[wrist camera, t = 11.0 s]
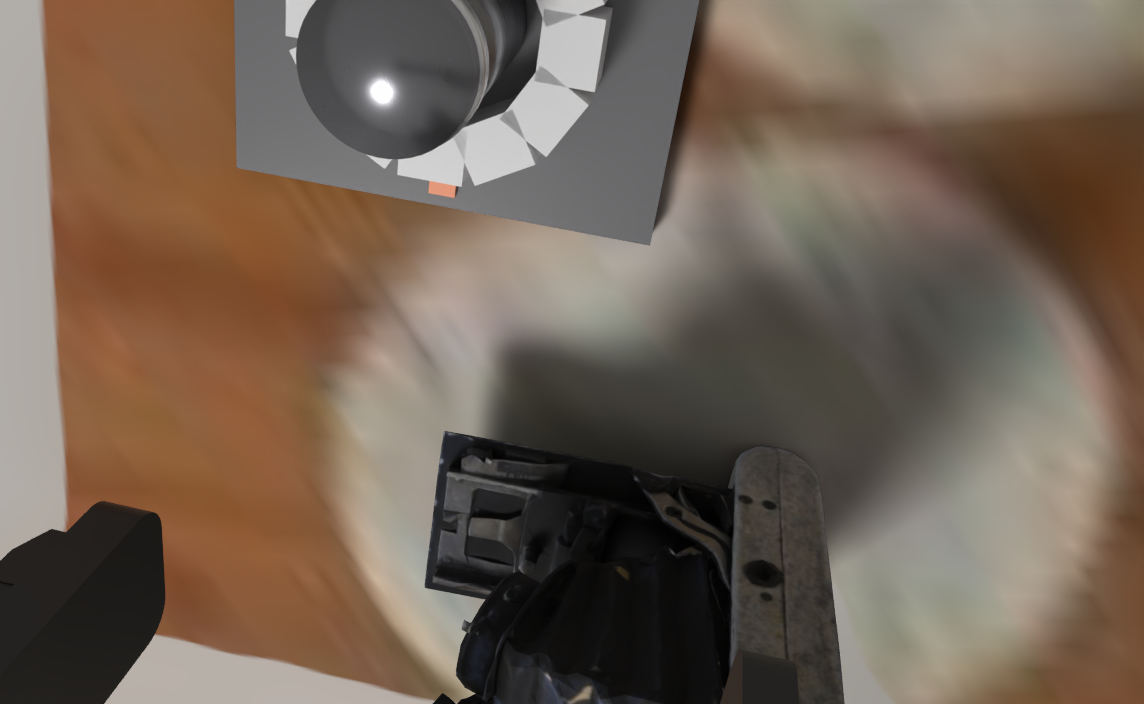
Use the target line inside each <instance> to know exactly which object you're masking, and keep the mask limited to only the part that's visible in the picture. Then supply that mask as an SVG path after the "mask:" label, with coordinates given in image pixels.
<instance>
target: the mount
mask: <svg viewBox="0 0 1144 704" xmlns="http://www.w3.org/2000/svg"><path fill="white" fill-rule="evenodd" d="M315 1H316V0H234V15H235V82H236V149H237V168H241V169H246V170H252V171H257V172H262V173H268V174H273V175H278V176H283V177H289V178H294V179H299V180H305V181H310V182H315V183H321V184H326V185H331V186H337V187H342V188H347V189H353V190H358V191H363V192H368V193H374V194H379V195H384V196H390V197H395V198H400V199H406V200H411V201H416V202H422V203H427V204H432V205H438V206H443V207H448V208H453V209H459V210H464V211H469V212H475V213H480V214H485V215H491V216H496V217H501V218H507V219H512V220H517V221H523V222H528V223H533V224H538V225H544V226H549V227H554V228H560V229H565V230H570V231H576V232H581V233H586V234H592V235H597V236H602V237H608V238H613V239H618V240H623V241H629V242H634V243H639V244H645V245H650V242H651V237H652V232H653V227H654V222H655V217H656V212H657V208H658V203H659V198H660V193H661V188H662V183H663V178H664V173H665V168H666V163H667V158H668V153H669V148H670V143H671V138H672V134H673V129H674V124H675V119H676V114H677V109H678V104H679V99H680V94H681V89H682V84H683V79H684V74H685V69H686V64H687V60H688V55H689V50H690V45H691V40H692V35H693V30H694V25H695V20H696V15H697V10H698V5H699V0H525V1H526V6H527V28H526V33H525V37H524V40H523V43H522V46H521V48H520V50H519V52H518V54H517V55H516V57H515V58H514V59H513V61H512V62H511V63H510V65H509V66H508V67H507V68H506V70H505V71H504V72H503V73H502V74H501V76H500V77H499V78H498V79H497V81H496V82H495V83H494V84H493V86H492V87H491V88H490V89H489V91H488V92H487V93H486V94H485V96H484V97H483V99H482V101H481V103H480V105H479V107H478V109H477V110H476V112H475V113H474V115H473V116H472V117H471V119H470V120H469V121H468V122H467V124H466V125H465V126H464V127H463V128H462V129H461V131H460V132H459V133H458V134H456V135H455V136H454V137H453V138H452V139H450V140H449V141H447V142H446V143H444V144H442V145H441V146H439V147H437V148H435V149H434V150H432V151H430V152H428V153H425V154H423V155H420V156H416V157H413V158H406V159H384V158H377V157H374V156H370V155H366V154H364V153H361V152H359V151H356V150H355V149H353V148H351V147H349V146H347V145H346V144H344V143H343V142H341V141H340V140H338V139H337V138H336V137H335V136H334V135H332V134H331V133H330V132H329V131H328V130H327V129H326V128H325V127H324V126H323V125H322V124H321V122H320V121H319V120H318V118H317V117H316V116H315V114H314V113H313V112H312V110H311V108H310V106H309V104H308V103H307V101H306V98H305V96H304V94H303V91H302V89H301V85H300V82H299V78H298V72H297V66H296V47H297V40H298V35H299V31H300V28H301V25H302V22H303V20H304V18H305V16H306V14H307V12H308V10H309V9H310V8H311V6H312V5H313V4H314V2H315Z"/></svg>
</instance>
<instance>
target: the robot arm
mask: <svg viewBox="0 0 1144 704" xmlns="http://www.w3.org/2000/svg"><path fill="white" fill-rule="evenodd" d="M164 605H165V580H164V561H163V543H162V526H161V520H160V518H159V516H158V515H157V514H156V513H154V512H150V511H145V510H141V509H136V508H132V507H128V506H123V505H119V504H115V503H110V502H106V501H101V502H98V503H96V504H95V505H93V506H92V507H91V508H90V509H89V510H88V511H87V512H86V513H85V514H84V515H83V516H82V517H81V518H80V519H79V520H78V521H77V522H76V523H75V524H74V525H73V526H72V527H71V528H70V529H69V530H68V531H67V532H62V531H58V530H53V529H51V530H49V531H47V532H45V533H43V534H41V535H39V536H37V537H35V538H33V539H31V540H30V541H28V542H26V543H24V544H22V545H20V546H18V547H16V548H14V549H12V550H11V551H10V552H9V553H8V554H7V555H6V556H5V557H4V558H3V559H2V560H1V561H0V704H104V703H105V702H106V700H107V699H108V698H109V696H110V695H111V694H112V692H113V691H114V690H115V688H116V687H117V686H118V684H119V683H120V682H121V680H122V679H123V678H124V676H125V675H126V674H127V672H128V671H129V670H130V668H131V667H132V666H133V664H134V663H135V662H136V660H137V659H138V658H139V656H140V655H141V653H142V652H143V651H144V650H145V648H146V647H147V646H148V644H149V643H150V641H151V640H152V638H153V636H154V635H155V633H156V630H157V628H158V626H159V623H160V621H161V618H162V614H163V610H164ZM720 704H799V693H798V677H797V667H796V664H795V662H794V661H790V660H786V659H782V658H777V657H773V656H769V655H764V654H760V653H756V652H751V651H747V650H742V649H739V650H738V651H737V653H736V655H735V658H734V661H733V664H732V667H731V670H730V673H729V677H728V680H727V683H726V686H725V689H724V692H723V695H722V699H721V702H720Z"/></svg>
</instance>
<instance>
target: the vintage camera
mask: <svg viewBox="0 0 1144 704" xmlns="http://www.w3.org/2000/svg"><path fill="white" fill-rule="evenodd" d="M425 588H429V589H434V590H439V591H444V592H449V593H455V594H460V595H465V596H470V597H476V598H481V599H486V600H485V601H484V603H483V604H482V606H481V607H480V609H479V611H478V612H477V614H476V616H475V617H474V619H473V621H472V622H471V623H469V622H467V621H465V620H464V622H463V626H462V630H464V631H465V632H467V633H466V635H465V637H464V639H463V641H462V643H461V647H460V652H459V657H458V662H457V668H456V676H457V677H458V679H459V680H460V681H461V683H462V684H463V685H464V687H465V688H467V689H468V690H470V691H472V692H474V693H476V694H474V695H472V696H470V697H468V698H466V699H462V700H460V701H459V702H458V704H720V702H721V699H722V695H723V692H724V689H725V686H726V683H727V680H728V677H729V673H730V670H731V667H732V664H733V661H734V658H735V655H736V653H737V651H738V650H739V649H742V650H747V651H751V652H756V653H760V654H764V655H769V656H773V657H777V658H782V659H786V660H790V661H794V662H795V664H796V667H797V677H798V693H799V704H844V694H843V683H842V672H841V661H840V651H839V642H838V634H837V625H836V617H835V608H834V600H833V591H832V582H831V573H830V565H829V557H828V548H827V540H826V532H825V519H824V509H823V502H822V494H821V488H820V483H819V479H818V476H817V475H816V473H815V472H814V471H813V470H812V468H811V467H810V466H809V465H808V464H807V463H806V462H805V461H804V460H802V459H801V458H799V457H797V456H796V455H794V454H793V453H791V452H789V451H787V450H783V449H779V448H773V447H764V446H757V447H754V448H752V449H749V450H747V451H745V452H742V453H741V455H740V456H739V457H738V459H737V460H736V462H735V465H734V468H733V472H732V475H731V478H730V482H729V485H728V488H724V487H720V486H715V485H711V484H707V483H703V482H699V481H695V480H690V479H685V478H681V477H676V476H661V475H657V474H654V473H651V472H648V471H644V470H641V469H638V468H635V467H632V466H627V465H622V464H617V463H612V462H607V461H601V460H596V459H591V458H586V457H581V456H576V455H571V454H565V453H559V452H553V451H548V450H543V449H538V448H533V447H528V446H523V445H517V444H512V443H507V442H502V441H496V440H491V439H486V438H480V437H475V436H469V435H464V434H458V433H453V432H447V431H444V436H443V442H442V448H441V455H440V463H439V470H438V477H437V486H436V495H435V503H434V512H433V521H432V529H431V538H430V546H429V554H428V562H427V570H426V579H425ZM490 701H491V702H490ZM433 704H455V703H454V702H453V701H452V700H451V699H450V698H449V697H447V696H446V695H445V694H443V693H442V694H441V695H440V696H439V698H438V699H437V700H436V701H435V702H434V703H433Z"/></svg>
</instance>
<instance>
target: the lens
mask: <svg viewBox="0 0 1144 704" xmlns="http://www.w3.org/2000/svg"><path fill="white" fill-rule="evenodd" d="M526 28H527V6H526V1H525V0H316V1H315V2H314V4H313V5H312V6H311V8H310V9H309V10H308V12H307V14H306V16H305V18H304V20H303V22H302V25H301V28H300V31H299V35H298V40H297V47H296V66H297V72H298V78H299V82H300V85H301V89H302V91H303V94H304V96H305V98H306V101H307V103H308V104H309V106H310V108H311V110H312V112H313V113H314V114H315V116H316V117H317V118H318V120H319V121H320V122H321V124H322V125H323V126H324V127H325V128H326V129H327V130H328V131H329V132H330V133H331V134H332V135H334V136H335V137H336V138H337V139H338V140H340V141H341V142H343V143H344V144H346V145H347V146H349V147H351V148H353V149H355V150H356V151H359V152H361V153H364V154H366V155H370V156H374V157H377V158H384V159H406V158H413V157H416V156H420V155H423V154H425V153H428V152H430V151H432V150H434V149H435V148H437V147H439V146H441V145H442V144H444V143H446V142H447V141H449V140H450V139H452V138H453V137H454V136H455V135H456V134H458V133H459V132H460V131H461V129H462V128H463V127H464V126H465V125H466V124H467V122H468V121H469V120H470V119H471V117H472V116H473V115H474V113H475V112H476V110H477V109H478V107H479V105H480V103H481V101H482V99H483V97H484V96H485V94H486V93H487V92H488V91H489V89H490V88H491V87H492V86H493V84H494V83H495V82H496V81H497V79H498V78H499V77H500V76H501V74H502V73H503V72H504V71H505V70H506V68H507V67H508V66H509V65H510V63H511V62H512V61H513V59H514V58H515V57H516V55H517V54H518V52H519V50H520V48H521V46H522V43H523V40H524V37H525V33H526Z"/></svg>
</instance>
